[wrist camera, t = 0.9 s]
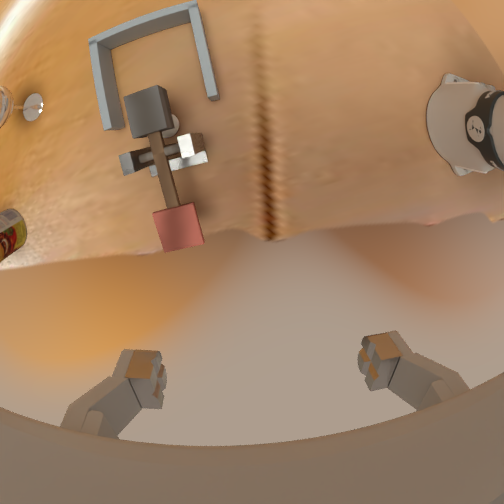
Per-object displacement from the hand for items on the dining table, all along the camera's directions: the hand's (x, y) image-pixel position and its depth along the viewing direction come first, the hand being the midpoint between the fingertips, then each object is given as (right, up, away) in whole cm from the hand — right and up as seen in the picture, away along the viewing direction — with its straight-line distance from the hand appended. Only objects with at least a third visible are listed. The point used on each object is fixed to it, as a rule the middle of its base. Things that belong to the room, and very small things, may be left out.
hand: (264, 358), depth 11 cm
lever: (-11, +17, +27) cm, 34 cm away
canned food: (-46, +9, +30) cm, 56 cm away
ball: (-12, +22, +26) cm, 36 cm away
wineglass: (-37, +28, +22) cm, 52 cm away
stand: (-11, +19, +27) cm, 35 cm away
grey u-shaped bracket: (-14, +29, +22) cm, 39 cm away
